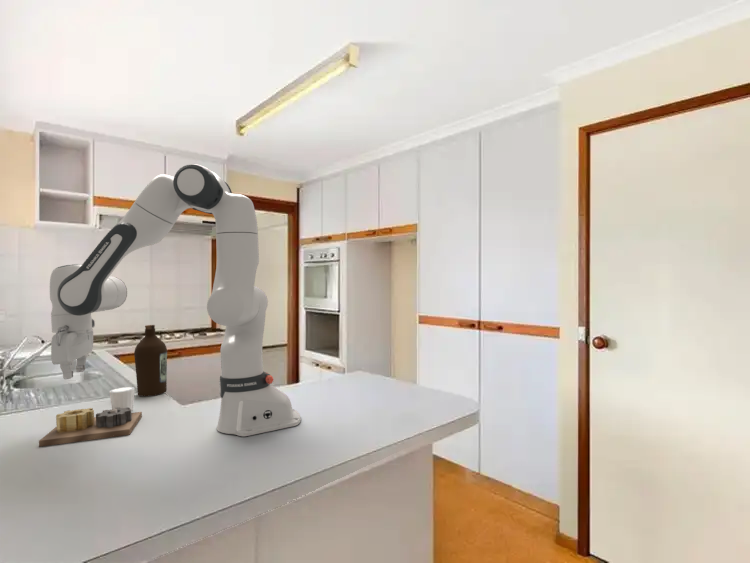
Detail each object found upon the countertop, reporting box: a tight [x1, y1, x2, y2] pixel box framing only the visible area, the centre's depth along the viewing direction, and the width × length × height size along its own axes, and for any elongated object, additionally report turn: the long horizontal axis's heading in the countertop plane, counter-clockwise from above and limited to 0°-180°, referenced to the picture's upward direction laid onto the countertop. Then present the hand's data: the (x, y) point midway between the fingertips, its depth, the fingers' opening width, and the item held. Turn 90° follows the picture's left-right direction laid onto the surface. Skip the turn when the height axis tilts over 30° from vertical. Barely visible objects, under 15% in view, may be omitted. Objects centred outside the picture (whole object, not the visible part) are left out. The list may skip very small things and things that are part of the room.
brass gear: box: [55, 407, 95, 433], centre depth 114 cm, size 8×7×4 cm
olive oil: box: [133, 324, 168, 397], centre depth 154 cm, size 11×11×25 cm
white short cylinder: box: [108, 386, 135, 412], centre depth 133 cm, size 7×7×7 cm
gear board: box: [38, 407, 143, 448], centre depth 116 cm, size 20×16×5 cm
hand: (74, 375), depth 114 cm, fingers open, 8 cm apart
